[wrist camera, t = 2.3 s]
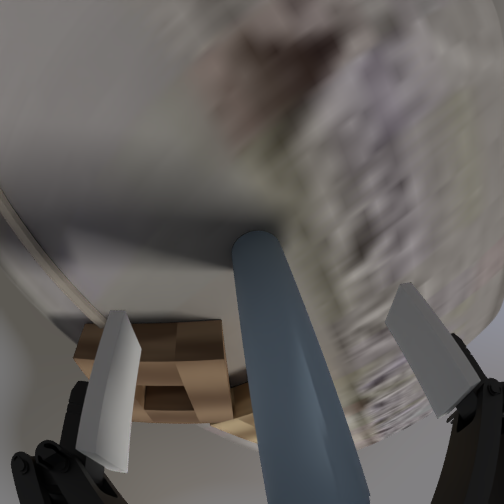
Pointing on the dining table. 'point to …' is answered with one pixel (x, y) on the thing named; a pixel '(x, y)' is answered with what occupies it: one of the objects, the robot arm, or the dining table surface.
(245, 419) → the light wood square frame
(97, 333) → the square wooden ring
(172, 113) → the dining table surface
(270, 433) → the blue-grey peg
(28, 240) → the thin wooden stick
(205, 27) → the dining table surface
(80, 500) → the robot arm
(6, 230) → the dining table surface
